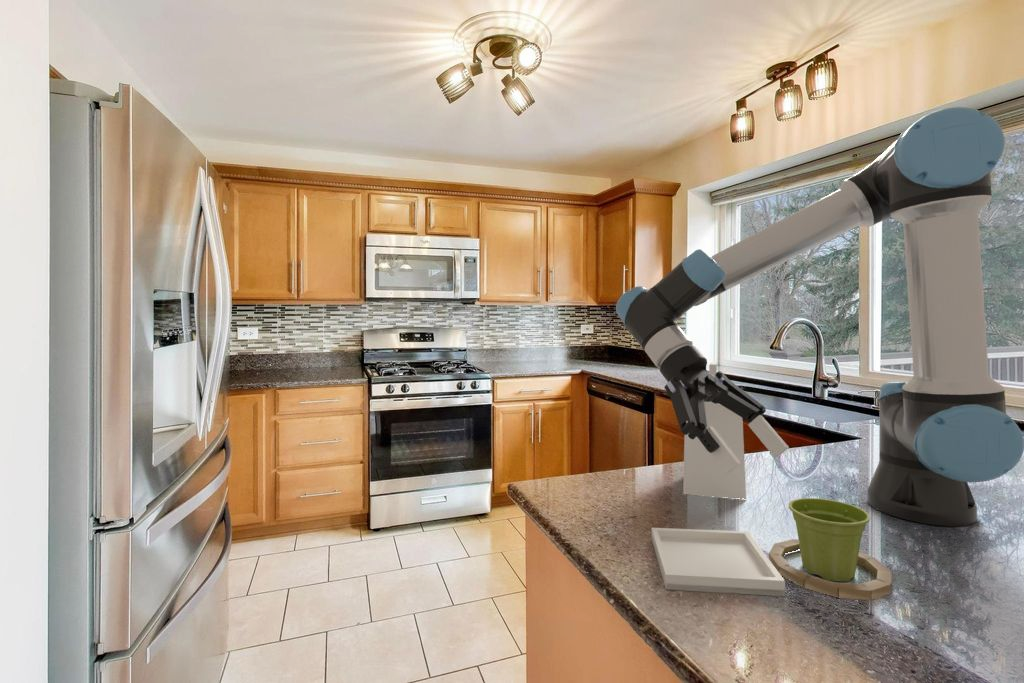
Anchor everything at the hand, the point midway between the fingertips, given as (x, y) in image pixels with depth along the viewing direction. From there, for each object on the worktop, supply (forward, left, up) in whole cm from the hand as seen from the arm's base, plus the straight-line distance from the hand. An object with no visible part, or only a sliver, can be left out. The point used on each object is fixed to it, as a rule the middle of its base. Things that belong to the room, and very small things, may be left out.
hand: (759, 460), depth 75 cm
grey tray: (+9, +7, -13) cm, 17 cm away
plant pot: (-7, +7, -14) cm, 17 cm away
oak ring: (-7, +7, -13) cm, 16 cm away
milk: (0, -27, -14) cm, 30 cm away
